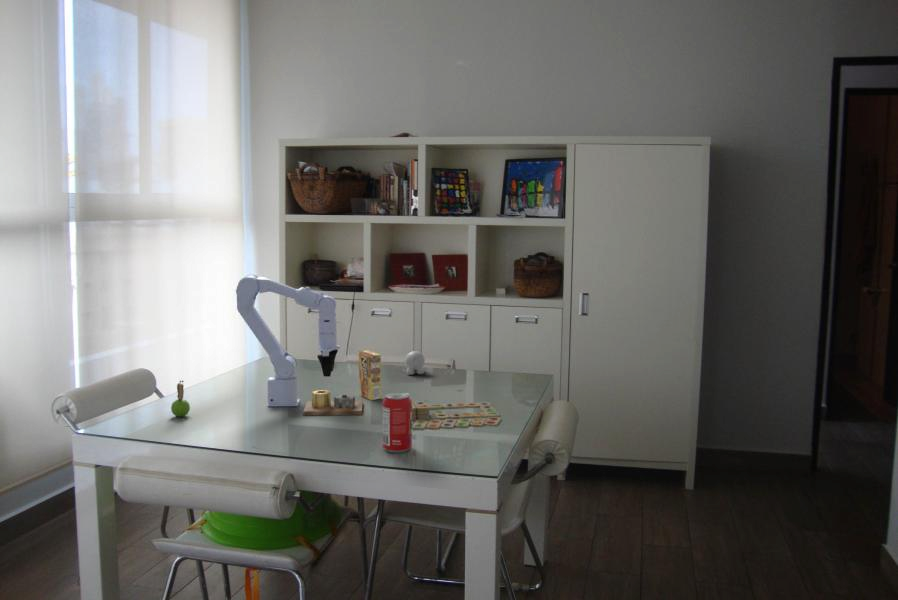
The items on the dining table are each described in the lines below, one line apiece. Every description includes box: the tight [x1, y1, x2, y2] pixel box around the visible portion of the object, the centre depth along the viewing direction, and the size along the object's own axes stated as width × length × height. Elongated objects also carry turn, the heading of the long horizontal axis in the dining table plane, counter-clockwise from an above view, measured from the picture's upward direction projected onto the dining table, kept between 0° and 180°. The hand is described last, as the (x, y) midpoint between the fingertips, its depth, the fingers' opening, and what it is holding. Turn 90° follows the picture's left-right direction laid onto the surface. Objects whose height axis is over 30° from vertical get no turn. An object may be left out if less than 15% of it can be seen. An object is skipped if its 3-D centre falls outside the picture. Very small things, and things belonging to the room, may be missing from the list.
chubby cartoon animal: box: [404, 350, 426, 376], centre depth 320 cm, size 8×12×9 cm, turn 4°
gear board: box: [302, 394, 364, 416], centre depth 264 cm, size 18×13×5 cm
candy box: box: [358, 350, 382, 401], centre depth 280 cm, size 9×4×15 cm, turn 34°
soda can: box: [381, 392, 413, 454], centre depth 222 cm, size 8×8×15 cm
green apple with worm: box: [170, 380, 191, 418], centre depth 254 cm, size 5×6×12 cm
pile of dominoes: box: [412, 401, 502, 431], centre depth 257 cm, size 35×27×6 cm
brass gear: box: [311, 389, 332, 408], centre depth 264 cm, size 6×6×4 cm
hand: (328, 373), depth 271 cm, fingers open, 7 cm apart
